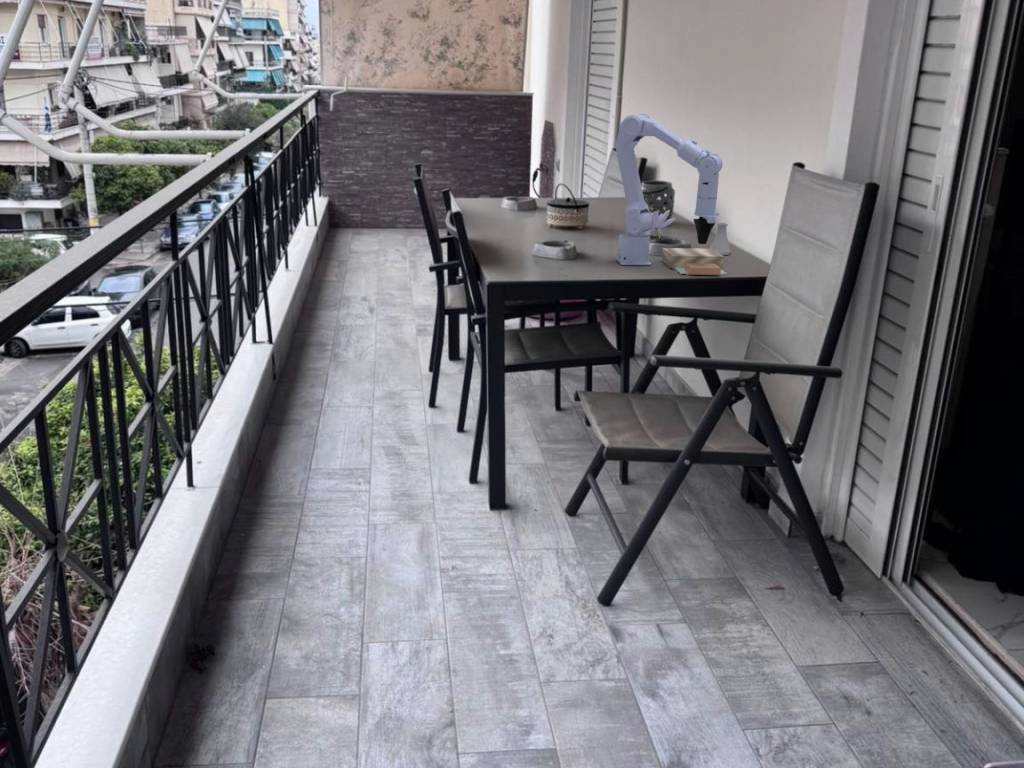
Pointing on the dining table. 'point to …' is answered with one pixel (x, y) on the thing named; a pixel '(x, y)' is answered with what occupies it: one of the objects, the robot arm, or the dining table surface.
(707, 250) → the plate
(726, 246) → the flask
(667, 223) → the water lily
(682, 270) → the mat
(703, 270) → the tile
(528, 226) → the dining table surface
